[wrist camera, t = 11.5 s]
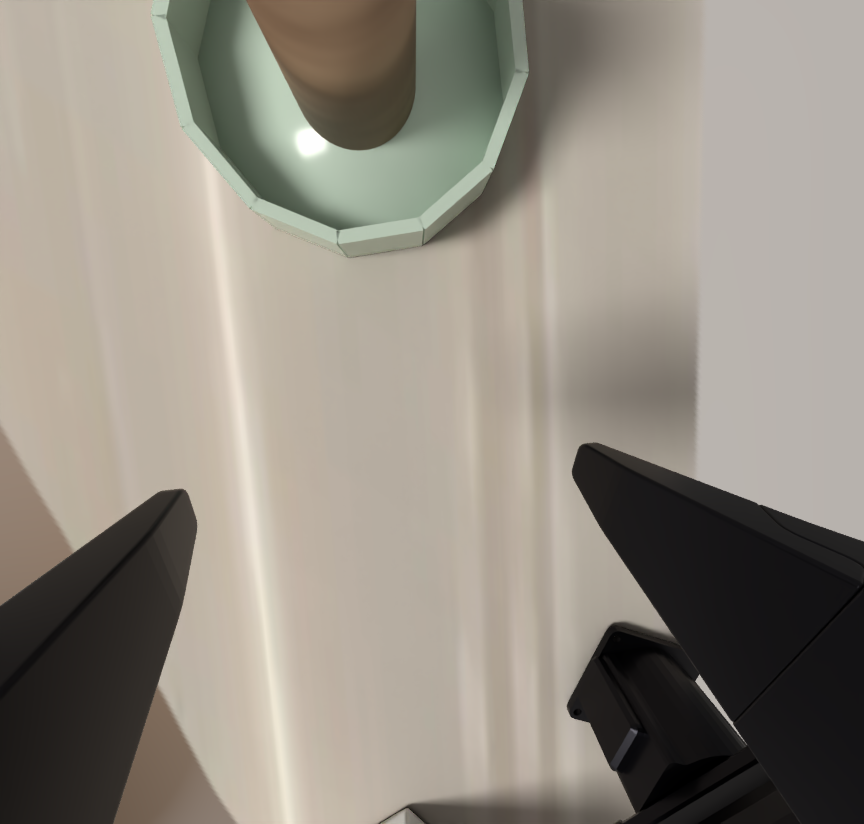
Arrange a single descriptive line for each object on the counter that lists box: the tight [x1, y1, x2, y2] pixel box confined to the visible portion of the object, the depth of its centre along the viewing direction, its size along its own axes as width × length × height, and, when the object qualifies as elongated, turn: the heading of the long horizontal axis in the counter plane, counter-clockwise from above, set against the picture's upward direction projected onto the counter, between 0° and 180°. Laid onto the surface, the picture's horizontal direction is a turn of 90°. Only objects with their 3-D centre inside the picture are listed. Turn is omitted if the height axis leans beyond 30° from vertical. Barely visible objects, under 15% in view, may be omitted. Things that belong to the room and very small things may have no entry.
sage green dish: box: [151, 0, 529, 258], centre depth 14 cm, size 13×13×2 cm
